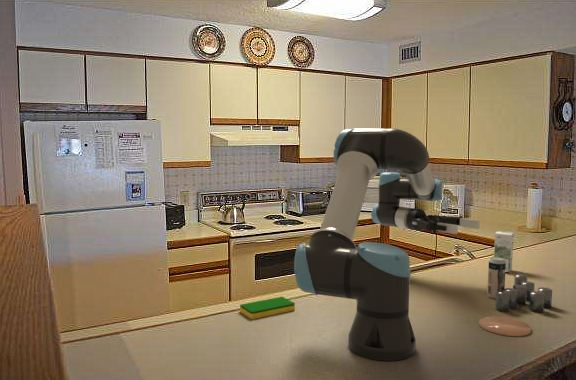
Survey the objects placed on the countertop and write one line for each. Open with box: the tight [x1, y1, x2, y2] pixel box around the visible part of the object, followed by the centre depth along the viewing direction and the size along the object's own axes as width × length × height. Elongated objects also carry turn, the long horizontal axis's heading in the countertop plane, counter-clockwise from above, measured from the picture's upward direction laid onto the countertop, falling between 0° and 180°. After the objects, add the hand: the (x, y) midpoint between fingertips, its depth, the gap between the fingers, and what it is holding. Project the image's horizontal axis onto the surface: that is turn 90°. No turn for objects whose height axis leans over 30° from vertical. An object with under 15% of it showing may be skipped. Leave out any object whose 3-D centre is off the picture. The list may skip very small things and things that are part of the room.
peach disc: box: [479, 316, 532, 337], centre depth 124 cm, size 12×12×1 cm
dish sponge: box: [239, 296, 296, 320], centre depth 135 cm, size 7×14×2 cm, turn 122°
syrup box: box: [493, 230, 515, 273], centre depth 179 cm, size 6×6×14 cm
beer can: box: [486, 256, 506, 300], centre depth 147 cm, size 5×5×12 cm
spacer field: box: [495, 273, 553, 314], centre depth 143 cm, size 15×26×5 cm, turn 131°
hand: (468, 227), depth 154 cm, fingers open, 13 cm apart
